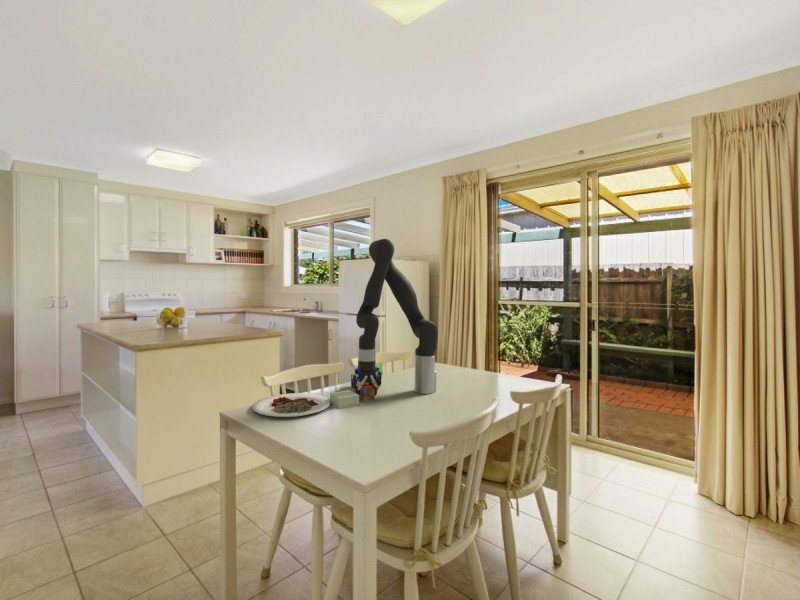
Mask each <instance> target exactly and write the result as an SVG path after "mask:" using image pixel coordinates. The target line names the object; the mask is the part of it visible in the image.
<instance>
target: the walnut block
mask: <svg viewBox="0 0 800 600" xmlns="http://www.w3.org/2000/svg"><path fill="white" fill-rule="evenodd" d="M374 390H375V389H374V388H372V387H370V386H365V387H361V388H360V399H359V401H360V400H361V401H363V402H365V403H366V402H368V401H370V400H371V401H375V396H374Z"/></svg>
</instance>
